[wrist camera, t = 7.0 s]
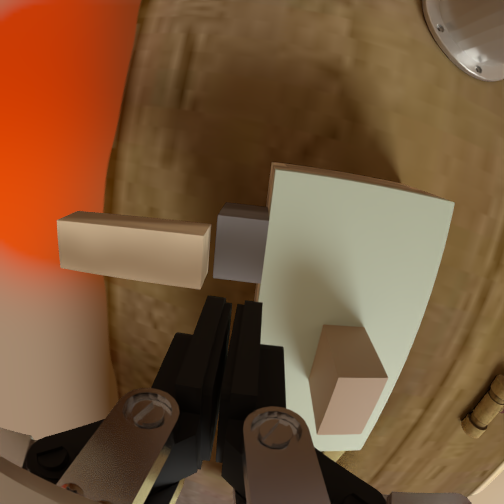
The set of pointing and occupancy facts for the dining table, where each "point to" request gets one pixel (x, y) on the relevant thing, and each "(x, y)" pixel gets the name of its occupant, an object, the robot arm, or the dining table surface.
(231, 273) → the toolbox
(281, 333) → the lid
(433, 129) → the dining table surface
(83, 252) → the bar
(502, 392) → the gavel
